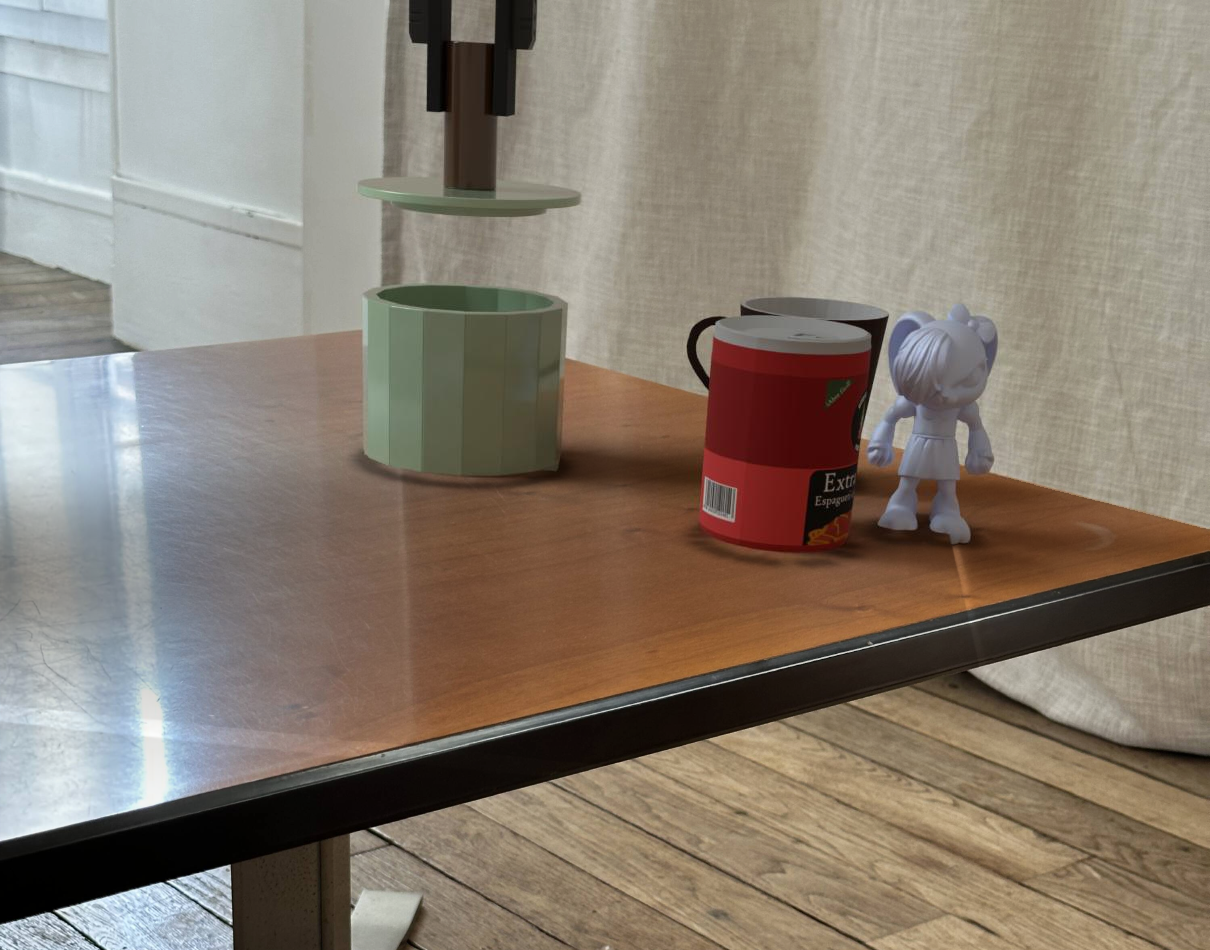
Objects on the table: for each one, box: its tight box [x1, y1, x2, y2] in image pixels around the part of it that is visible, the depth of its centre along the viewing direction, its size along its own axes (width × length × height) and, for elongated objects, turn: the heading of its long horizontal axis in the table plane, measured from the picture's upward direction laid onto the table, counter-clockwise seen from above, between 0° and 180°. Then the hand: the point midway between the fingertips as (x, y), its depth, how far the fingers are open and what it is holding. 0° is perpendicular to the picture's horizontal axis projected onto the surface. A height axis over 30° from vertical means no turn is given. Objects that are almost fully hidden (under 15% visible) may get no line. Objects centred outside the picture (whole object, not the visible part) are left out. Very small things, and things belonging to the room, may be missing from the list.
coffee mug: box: [686, 296, 890, 431], centre depth 102 cm, size 12×9×10 cm
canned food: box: [698, 315, 871, 553], centre depth 88 cm, size 8×8×11 cm
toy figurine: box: [865, 303, 999, 545], centre depth 91 cm, size 7×6×12 cm
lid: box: [356, 39, 583, 218], centre depth 95 cm, size 13×13×9 cm
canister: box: [362, 282, 569, 477], centre depth 101 cm, size 12×12×10 cm
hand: (471, 112), depth 95 cm, fingers closed on lid, 3 cm apart
